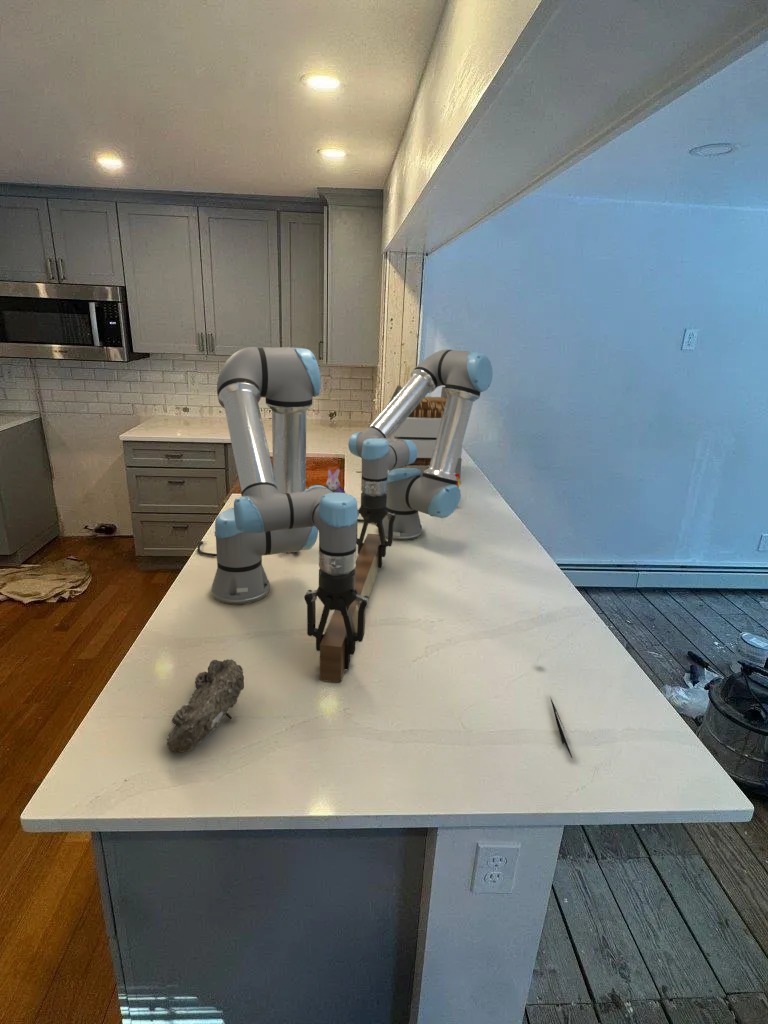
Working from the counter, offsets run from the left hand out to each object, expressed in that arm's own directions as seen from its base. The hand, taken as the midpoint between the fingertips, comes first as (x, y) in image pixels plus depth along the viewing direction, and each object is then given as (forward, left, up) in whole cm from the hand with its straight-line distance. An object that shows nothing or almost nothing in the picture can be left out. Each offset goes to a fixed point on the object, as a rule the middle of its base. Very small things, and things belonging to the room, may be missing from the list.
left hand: (335, 664), depth 124 cm
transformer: (-103, +125, -1) cm, 162 cm away
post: (-17, +19, -1) cm, 26 cm away
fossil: (-1, -28, -1) cm, 28 cm away
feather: (+38, +27, -1) cm, 46 cm away
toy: (-71, +108, -1) cm, 129 cm away
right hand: (-34, +39, 0) cm, 52 cm away
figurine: (-86, +63, -1) cm, 106 cm away
